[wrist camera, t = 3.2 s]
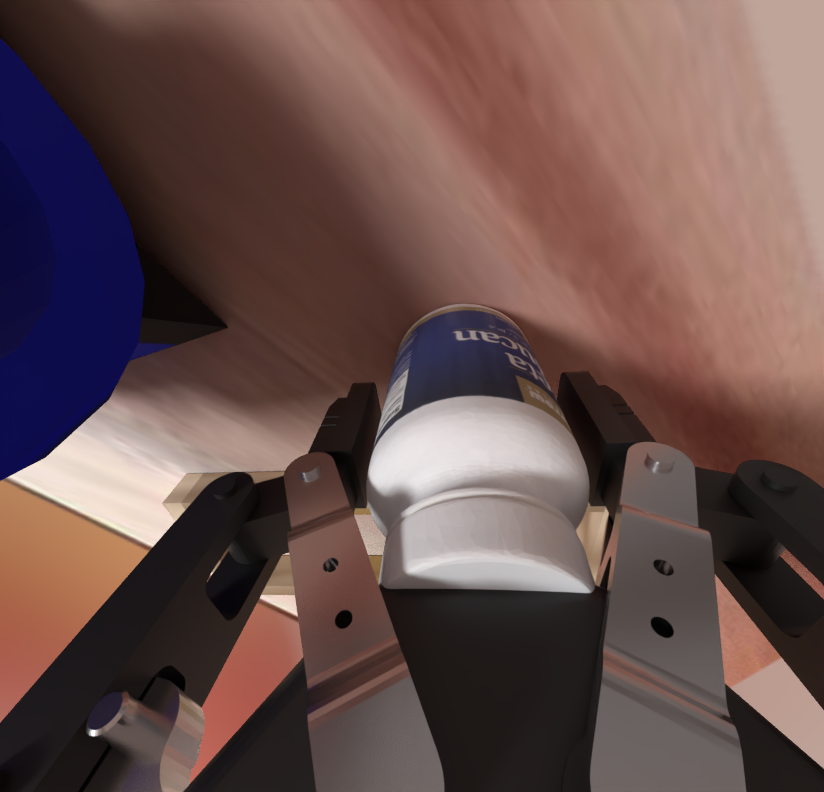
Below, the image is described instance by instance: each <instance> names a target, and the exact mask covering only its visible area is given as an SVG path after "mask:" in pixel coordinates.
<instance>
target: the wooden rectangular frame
mask: <svg viewBox="0 0 824 792" xmlns="http://www.w3.org/2000/svg"><path fill="white" fill-rule="evenodd" d="M284 472H285V471H280V472H245V473H248V474H249V475H251V477H252V478H253V480H254V482H255V483H259V482H262V481H266V480H270V479H274V478H277V477H280V476H283V475H284ZM226 474H229V473H201V474H186V475H185V476H184V477H183V479H182V480H181V481H180V482H179V484H178V485H177V486H176V487H175V488H174V490H173V491H172V492H171V493H170V494H169V496H168V497H167V498H166V499H165V501H164V502H163V503H162V504H163V505H164V507H165V508H166V509H167V511H168V512H169V513H170V515H171V516H172V518H173V519H174V520H175V521H176V520H177V519H178V518H179V517H180V516H181V514H182V513H183V512H184V511H185V510H186V509H187V508H188V506H189V505H190V504H191V503H192V502H193V501H194V500H195V498H196V497H197V496H198V495H199V494H200V493H201V491H202V490H203V489H204V488H205V487H206V486H207V485H208V484H210V483H211V482H212V481H214V480H215V479H217V478H219V477H221V476H223V475H226ZM363 514H371V512H370V509H369V506H368V503H367V508H355V512H354V515H363ZM608 514H609V513H608V510H607V508H606V506H590V504H589V501H588V506H587V509H586V512H585V515H584V517H583V519H582V521H581V523H580V525H579V526H578V528H577V530H576V532H577V535H578V537H579V539H580V541H581V543H582V545H583V547H584V549H585V552H586V555H587V559H588V563H589V566H590V569H591V572H592V575H593V578H594V581H596V576H597V571H598V565H599V559H600V554H601V548H602V542H603V536H604V531H605V525H606V521H607V517H608ZM227 552H228V549H227V550H226V551H225V553H224V554H223V556H222V557H221V559H220V560H219V562H218V563H217V565H216V566H215V568H214V569H213V571H212V572H213V573H214V571H215V570H216V568H217V567H218V566H219V564H220V563H221V561H222V560H223V558H224V557H225V555H226V554H227ZM368 557H369V559H370V562H371V565H372V568H373V571H374V574H375V577H376V580H377V582H378V584H379V577H380V570H381V563H382V556H368ZM261 595H295V591H294V583H293V576H292V569H291V561H290V555H282V556H281V558H280V560H279V562H278V564H277V566H276V568H275V570H274V571H273V573H272V575H271V577H270V579H269V581H268V583H267V585H266V587H265V588H264V590H263V592H262V594H261Z"/></svg>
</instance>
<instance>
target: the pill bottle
mask: <svg viewBox="0 0 824 792" xmlns="http://www.w3.org/2000/svg"><path fill="white" fill-rule="evenodd" d="M589 490H590V485H589V476H588V471H587V467H586V464H585V461H584V459H583V456H582V454H581V452H580V449H579V447H578V444H577V442H576V440H575V438H574V436H573V434H572V431H571V429H570V427H569V425H568V423H567V421H566V419H565V417H564V414H563V412H562V410H561V408H560V405H559V403H558V401H557V399H556V397H555V395H554V393H553V391H552V389H551V388H550V386H549V384H548V382H547V380H546V377H545V375H544V373H543V371H542V369H541V367H540V365H539V363H538V361H537V359H536V357H535V355H534V353H533V350H532V348H531V346H530V344H529V342H528V340H527V339H526V337H525V335H524V334H523V332H522V331H521V329H520V328H519V327H518V326H517V325H516V324H515V323H514V322H513V321H512V320H511V319H510V318H508V317H507V316H505V315H504V314H502V313H501V312H499V311H497V310H494V309H492V308H489V307H486V306H482V305H476V304H454V305H449V306H445V307H442V308H439V309H436V310H434V311H432V312H430V313H428V314H426V315H425V316H423V317H422V318H421V319H419V320H418V321H417V322H416V323H415V324H414V325H413V326H412V327H411V328H410V329H409V330H408V332H407V333H406V335H405V336H404V338H403V340H402V341H401V344H400V346H399V348H398V351H397V355H396V358H395V362H394V366H393V370H392V374H391V379H390V383H389V387H388V391H387V395H386V399H385V403H384V407H383V411H382V416H381V420H380V424H379V428H378V432H377V436H376V440H375V443H374V447H373V451H372V454H371V460H370V465H369V469H368V474H367V482H366V494H367V501H368V506H369V509H370V512H371V515H372V517H373V519H374V521H375V523H376V525H377V526H378V528H379V529H380V531H381V532H382V533H383V535H384V536H385V537H386V542H385V547H384V552H383V556H382V563H381V570H380V577H379V584H382V585H383V586H384V587H385V588H388V589H488V590H522V591H551V592H574V593H591V592H593V590H594V589H595V585H596V584H595V581H594V578H593V575H592V572H591V569H590V566H589V563H588V559H587V555H586V552H585V549H584V547H583V545H582V543H581V541H580V539H579V537H578V535H577V532H576V529H577V528H578V526H579V525H580V523H581V521H582V519H583V517H584V515H585V512H586V509H587V506H588V501H589ZM379 584H378V585H379Z"/></svg>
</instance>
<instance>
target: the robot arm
mask: <svg viewBox="0 0 824 792" xmlns="http://www.w3.org/2000/svg"><path fill="white" fill-rule="evenodd" d="M557 401H558V403H559V405H560V408H561V410H562V412H563V414H564V417H565V419H566V421H567V423H568V425H569V427H570V429H571V431H572V434H573V436H574V438H575V440H576V442H577V444H578V447H579V449H580V452H581V454H582V456H583V459H584V461H585V464H586V467H587V471H588V476H589V485H590V490H589V504H590V506H606V508H607V510H608V513H609V514H608V517H607V521H606V525H605V531H604V536H603V542H602V548H601V554H600V559H599V565H598V571H597V576H596V581H595V584H596V585H595V589H594V590H593V592H591V593H574V592H551V591H522V590H488V589H388V588H385V587H384V586H383V585H382V584H379V585H378V582H377V580H376V577H375V574H374V571H373V568H372V565H371V562H370V559H369V557H368V554H367V551H366V548H365V545H364V542H363V539H362V537H361V534H360V531H359V528H358V525H357V522H356V519H355V517H354V512H355V508H367V503H368V501H367V494H366V482H367V474H368V469H369V465H370V460H371V454H372V451H373V447H374V443H375V440H376V436H377V432H378V428H379V424H380V420H381V416H382V415H381V409H380V404H379V399H378V393H377V388H376V385H375V383H374V382H369V383H353V384H352V386H351V389H350V391H349V394H348V396H347V398H338V399H337V400H336V401H335V402H334V403H333V404H332V405H331V406H330V407H329V409H328V411H327V413H326V415H325V419H324V420H323V422H322V424H321V427H320V428H319V430H318V433H317V435H316V437H315V439H314V441H313V444H312V446H311V448H310V450H309V452H308V454H305V455H303V456H301V457H299V458H297V459H295V460H294V461H293V462H292V463H291V464H290V465H289V466H288V467H287V468H286V470H285V472H284V475H283V476H280V477H277V478H274V479H270V480H266V481H262V482H259V483H255V482H254V480H253V478H252V477H251V475H249V474H248V473H245V472H233V473H229V474H226V475H223V476H221V477H219V478H217V479H215V480H214V481H212V482H211V483H210V484H208V485H207V486H206V487H205V488H204V489H203V490H202V491H201V493H200V494H199V495H198V496H197V497H196V498H195V500H194V501H193V502H192V503H191V504H190V505H189V506H188V508H187V509H186V510H185V511H184V512H183V513H182V514H181V516H180V517H179V518H178V519H177V520H176V521H175V523H174V524H173V525H172V526H171V527H170V528H169V529H168V531H167V532H166V533H165V534H164V535H163V536H162V537H161V539H160V540H159V541H158V542H157V543H156V544H155V546H154V547H153V548H152V549H151V550H150V551H149V552H148V554H147V555H146V556H145V557H144V558H143V559H142V561H141V562H140V563H139V564H138V565H137V566H136V567H135V569H134V570H133V571H132V572H131V573H130V575H128V577H127V578H126V579H125V580H124V581H123V582H122V584H121V585H120V586H119V587H118V588H117V589H116V590H115V592H114V593H113V594H112V595H111V596H110V597H109V599H108V600H107V601H106V602H105V603H104V604H103V605H102V606H101V608H100V609H99V610H98V611H97V612H96V613H95V615H94V616H93V617H92V618H91V619H90V620H89V622H88V623H87V624H86V625H85V626H84V627H83V628H82V629H81V631H80V632H79V633H78V634H77V635H76V637H75V638H74V639H73V640H72V641H71V642H70V643H69V644H68V646H67V647H66V648H65V649H64V650H63V652H61V654H60V655H59V656H58V657H57V658H56V659H55V661H54V662H53V663H52V664H51V665H50V666H49V667H48V669H47V670H46V671H45V672H44V673H43V674H42V675H41V677H40V678H39V679H38V680H37V681H36V683H35V684H34V685H33V686H32V687H31V688H30V689H29V691H28V692H27V693H26V694H25V695H24V696H23V697H22V698H21V700H20V701H19V702H18V703H17V704H16V705H15V707H14V708H13V709H12V710H11V711H10V712H9V713H8V715H7V716H6V717H5V718H4V719H3V720H2V722H1V723H0V792H824V769H823V768H822V767H821V766H820V765H819V764H817V763H816V762H815V761H814V760H813V759H812V758H811V757H809V756H808V755H807V754H806V753H805V752H804V751H802V750H801V749H800V748H799V747H798V746H797V745H795V744H794V743H793V742H792V741H791V740H790V739H788V738H787V737H786V736H785V735H784V734H783V733H781V732H780V731H779V730H778V729H777V728H775V726H773V725H772V724H771V723H770V722H769V721H768V720H767V719H765V718H764V717H763V716H762V715H761V714H760V713H758V712H757V711H756V710H755V709H754V708H753V707H751V706H750V705H749V704H748V703H747V702H745V700H743V699H742V698H741V697H740V696H739V695H738V694H736V693H735V692H734V691H733V690H732V689H731V688H729V687H728V686H727V685H726V684H725V680H724V670H723V659H722V648H721V637H720V626H719V616H718V605H717V594H716V583H715V574H716V576H717V577H718V578H719V579H720V581H721V582H722V583H723V584H724V586H725V587H726V588H727V589H728V591H729V592H730V593H731V594H732V596H733V597H734V598H735V599H736V601H737V602H738V603H739V604H740V606H741V607H742V608H743V609H744V611H745V612H746V613H747V614H748V616H749V617H750V618H751V620H752V621H753V622H754V623H755V625H756V626H757V627H758V628H759V630H760V631H761V632H762V633H763V635H764V636H765V637H766V638H767V640H768V641H769V642H770V643H771V645H772V646H773V647H774V648H775V650H776V651H777V652H778V653H779V655H780V656H781V657H782V658H783V660H784V661H785V662H786V663H787V665H788V666H789V667H790V668H791V669H792V671H793V672H794V673H795V675H796V676H797V677H798V678H799V679H800V681H801V682H802V683H803V685H804V686H805V687H806V688H807V690H808V691H809V692H810V693H811V695H812V696H813V697H814V698H815V700H816V701H817V702H818V703H819V705H820V706H821V707H822V708H823V710H824V599H823V598H822V597H821V596H820V595H819V594H818V593H817V592H816V591H815V590H814V589H813V588H812V587H811V586H810V585H809V584H807V583H806V582H805V581H804V580H803V579H802V578H801V577H800V576H799V575H798V574H797V573H796V572H795V571H794V570H793V569H792V568H791V567H790V566H789V565H788V564H787V563H786V562H785V561H784V560H783V559H782V558H781V557H780V555H781V554H782V552H783V551H784V550H785V549H787V550H788V551H789V552H790V553H791V554H792V555H793V556H794V557H795V558H796V559H798V560H799V561H800V562H801V563H802V564H803V565H804V566H805V567H806V568H807V569H808V570H809V571H810V572H811V573H812V574H813V575H814V576H815V577H816V578H817V579H818V580H819V581H820V582H821V583H822V584H823V585H824V488H822V487H821V486H820V485H818V484H817V483H816V482H814V481H813V480H811V479H810V478H809V477H807V476H806V475H804V474H802V473H801V472H799V471H797V470H795V469H792V468H790V467H788V466H785V465H782V464H779V463H775V462H771V461H764V460H749V461H745V462H743V463H741V464H740V465H739V466H738V468H737V470H736V472H735V473H734V474H730V473H725V472H719V471H714V470H708V469H703V468H698V467H694V465H693V463H692V461H691V460H690V459H689V458H688V457H687V456H686V455H685V454H683V453H682V452H680V451H679V450H677V449H675V448H673V447H670V446H668V445H665V444H661V443H657V442H656V441H655V440H654V438H653V437H652V436H651V434H650V433H649V432H648V431H647V429H646V428H645V427H644V425H643V424H642V423H641V421H640V420H639V419H638V418H637V416H636V415H634V412H633V411H632V410H631V408H630V407H629V406H627V403H626V402H625V401H624V399H623V398H622V397H621V395H620V394H619V393H617V392H616V391H614V390H612V389H611V388H609V387H608V386H606V385H602V386H598V385H597V383H596V382H595V380H594V379H593V377H592V376H591V375H590V373H589V372H588V371H580V372H563V373H562V374H561V377H560V382H559V389H558V396H557ZM227 549H228V552H227V554H226V555H225V557H224V558H223V560H222V561H221V563H220V564H219V566H218V567H217V568H216V570H215V571H214V573H213V574H212V576H211V577H210V579H209V580H208V578H209V576H210V574H211V572H212V571H213V569H214V568H215V566H216V565H217V563H218V562H219V560H220V559H221V557H222V556H223V554H224V553H225V551H226V550H227ZM288 552H289V554H290V561H291V569H292V576H293V583H294V591H295V598H296V605H297V613H298V620H299V627H300V634H301V641H302V648H303V658H302V659H301V661H300V662H299V663H298V664H297V665H296V666H295V667H294V668H293V669H292V671H291V672H290V673H289V674H288V675H287V676H286V677H285V678H284V679H283V681H282V682H281V683H280V684H279V685H278V686H277V687H276V688H275V690H274V691H273V692H272V693H271V694H270V695H269V696H268V697H267V699H266V700H265V701H264V702H263V703H262V704H261V705H260V707H259V708H258V709H257V710H256V711H255V712H254V713H253V714H252V715H251V716H250V717H249V719H248V720H247V721H246V722H245V723H244V724H243V725H242V726H241V728H240V729H239V730H238V731H237V732H236V733H235V734H234V735H233V736H232V738H231V739H230V740H229V741H228V742H227V743H226V744H225V745H224V747H223V748H222V749H221V750H220V751H219V752H218V753H217V754H216V756H215V757H214V758H213V759H212V760H211V761H210V762H209V763H208V764H207V766H206V767H205V768H204V769H203V770H202V771H201V772H200V774H199V775H198V776H197V777H196V778H195V779H194V780H193V781H192V782H191V784H190V775H191V769H192V768H193V767H194V765H195V763H196V761H197V759H198V756H199V752H200V744H201V741H202V737H203V732H204V714H203V711H202V709H201V708H202V706H203V704H204V702H205V700H206V698H207V696H208V694H209V692H210V691H211V689H212V687H213V685H214V683H215V681H216V679H217V677H218V675H219V673H220V672H221V670H222V668H223V666H224V664H225V662H226V660H227V658H228V656H229V655H230V653H231V651H232V649H233V647H234V645H235V643H236V641H237V639H238V638H239V636H240V634H241V632H242V630H243V628H244V626H245V624H246V622H247V620H248V619H249V617H250V615H251V613H252V611H253V609H254V607H255V605H256V604H257V602H258V600H259V598H260V596H261V594H262V592H263V590H264V588H265V587H266V585H267V583H268V581H269V579H270V577H271V575H272V573H273V571H274V570H275V568H276V566H277V564H278V562H279V560H280V558H281V556H282V554H285V553H288ZM207 580H208V582H207Z"/></svg>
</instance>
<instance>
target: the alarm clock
mask: <svg viewBox="0 0 824 792" xmlns="http://www.w3.org/2000/svg"><path fill="white" fill-rule="evenodd" d="M226 328H228V327H227V326H226V324H225V323H223V322H222V321H221V320H220V319H219V318H218V317H217V316H216V315H215V314H214V313H213V312H212V311H210V310H209V309H208V308H207V307H206V306H205V305H204V304H203V303H202V302H201V301H200V300H199V299H197V298H196V297H195V296H194V295H193V294H192V293H191V292H190V291H189V290H188V289H187V288H186V287H184V286H183V285H182V284H181V283H180V282H179V281H178V280H177V279H176V278H175V277H174V276H173V275H172V274H170V273H169V272H168V271H167V270H166V269H165V268H164V267H163V266H162V265H161V264H160V263H159V262H157V261H156V260H155V259H154V258H153V257H152V256H151V255H150V254H149V253H148V252H147V251H146V250H144V249H143V248H142V247H141V246H140V245H139V244H138V243H135V241H134V237H133V232H132V228H131V224H130V220H129V217H128V215H127V213H126V211H125V210H124V208H123V206H122V204H121V202H120V200H119V198H118V197H117V195H116V193H115V191H114V189H113V187H112V185H111V184H110V182H109V180H108V178H107V176H106V174H105V172H104V171H103V169H102V167H101V165H100V163H99V161H98V160H97V158H96V156H95V154H94V152H93V150H92V148H91V147H90V145H89V143H88V142H87V141H86V139H85V138H84V137H83V136H82V134H81V133H80V132H79V131H78V129H77V128H76V127H75V126H74V124H73V123H72V122H71V121H70V119H69V118H68V117H67V116H66V114H65V113H64V112H63V111H62V109H61V108H60V107H59V106H58V105H57V103H56V102H55V101H54V100H53V98H52V97H51V96H50V95H49V93H48V92H47V91H46V90H45V88H44V87H43V86H42V85H41V83H40V82H39V81H38V80H37V78H36V77H35V76H34V75H33V73H32V72H31V71H30V70H29V68H28V67H27V66H26V65H25V63H24V62H23V61H22V60H21V58H20V57H19V56H18V55H17V54H16V53H15V52H14V51H13V50H12V49H11V48H10V47H9V46H8V45H7V44H6V43H5V42H4V41H3V40H2V39H1V38H0V481H1V480H3V479H5V478H6V477H8V476H10V475H12V474H14V473H16V472H18V471H20V470H22V469H24V468H26V467H28V466H30V465H32V464H34V463H36V462H38V461H40V460H41V459H43V458H45V457H46V456H47V455H49V454H50V453H51V452H52V451H53V450H54V449H55V448H56V447H57V446H58V445H60V444H61V443H62V442H63V441H64V440H65V439H66V438H67V437H68V436H69V435H70V434H72V433H73V432H74V431H75V430H76V429H77V428H78V427H79V426H80V425H81V424H82V423H84V422H85V421H86V420H87V419H88V418H89V417H90V416H91V415H92V414H93V413H95V412H96V411H97V410H98V409H99V408H100V407H101V406H102V405H103V404H104V403H105V402H107V401H108V400H109V398H110V396H111V395H112V393H113V391H114V389H115V387H116V385H117V383H118V381H119V379H120V377H121V375H122V373H123V371H124V370H125V368H126V366H127V364H128V362H129V361H130V360H133V359H136V358H139V357H142V356H145V355H148V354H151V353H154V352H157V351H160V350H163V349H166V348H169V347H172V346H175V345H178V344H181V343H184V342H187V341H190V340H193V339H196V338H199V337H202V336H205V335H208V334H211V333H214V332H217V331H220V330H223V329H226Z"/></svg>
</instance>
